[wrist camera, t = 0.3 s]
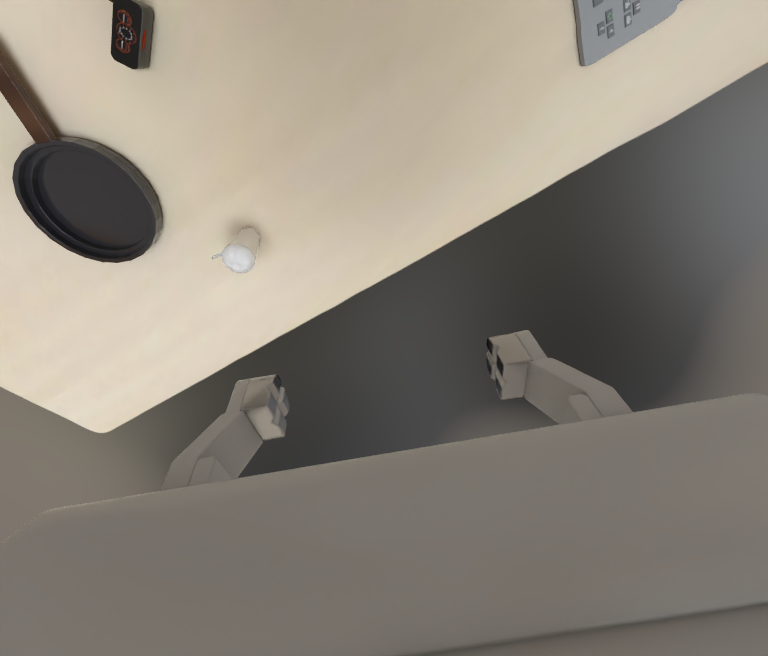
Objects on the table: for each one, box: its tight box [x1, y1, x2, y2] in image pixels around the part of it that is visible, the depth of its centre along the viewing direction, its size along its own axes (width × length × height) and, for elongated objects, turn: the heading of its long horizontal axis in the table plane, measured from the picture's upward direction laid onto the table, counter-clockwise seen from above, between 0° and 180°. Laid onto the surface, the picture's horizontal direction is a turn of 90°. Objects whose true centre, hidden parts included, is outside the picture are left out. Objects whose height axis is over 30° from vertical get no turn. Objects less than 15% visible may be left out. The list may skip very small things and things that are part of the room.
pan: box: [12, 137, 162, 263], centre depth 51 cm, size 17×17×3 cm
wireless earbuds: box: [109, 0, 153, 69], centre depth 40 cm, size 5×7×3 cm, turn 153°
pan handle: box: [0, 52, 57, 148], centre depth 42 cm, size 12×2×1 cm, turn 8°
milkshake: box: [212, 227, 260, 273], centre depth 54 cm, size 4×5×10 cm
